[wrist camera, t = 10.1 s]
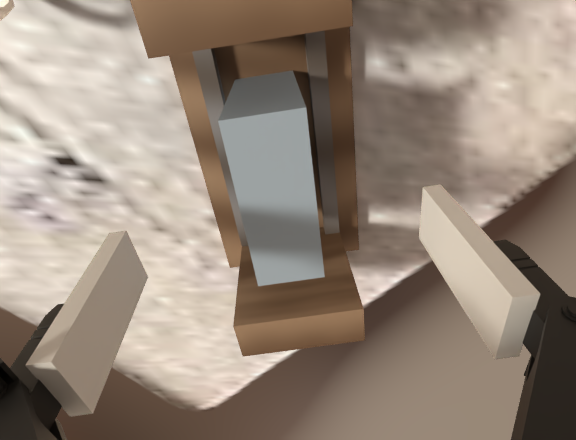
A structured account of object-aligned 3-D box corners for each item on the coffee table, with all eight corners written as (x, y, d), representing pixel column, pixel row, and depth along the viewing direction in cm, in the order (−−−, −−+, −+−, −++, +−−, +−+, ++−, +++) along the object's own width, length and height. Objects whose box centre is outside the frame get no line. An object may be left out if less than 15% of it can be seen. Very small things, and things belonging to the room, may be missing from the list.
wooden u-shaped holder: (153, -13, 22) (72, -22, 13) (343, -44, 22) (399, -77, 13) (231, 260, 34) (217, 359, 25) (356, 243, 34) (391, 336, 24)
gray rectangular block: (235, 79, 25) (217, 120, 16) (292, 70, 24) (306, 107, 16) (260, 204, 30) (258, 286, 21) (308, 197, 30) (324, 276, 21)
